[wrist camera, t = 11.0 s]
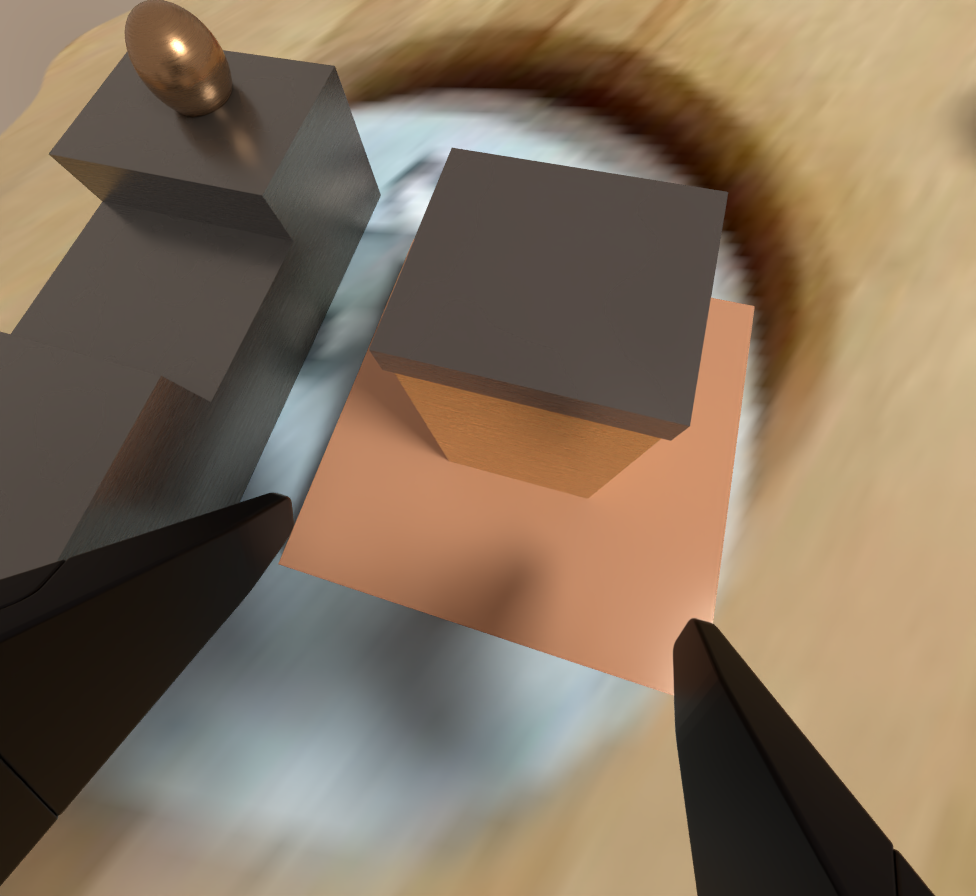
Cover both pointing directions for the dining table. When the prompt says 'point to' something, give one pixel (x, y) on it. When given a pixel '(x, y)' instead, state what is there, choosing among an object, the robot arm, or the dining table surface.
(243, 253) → the body
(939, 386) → the dining table surface
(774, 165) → the dining table surface
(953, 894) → the dining table surface
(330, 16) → the dining table surface
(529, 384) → the tan wooden block
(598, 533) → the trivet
